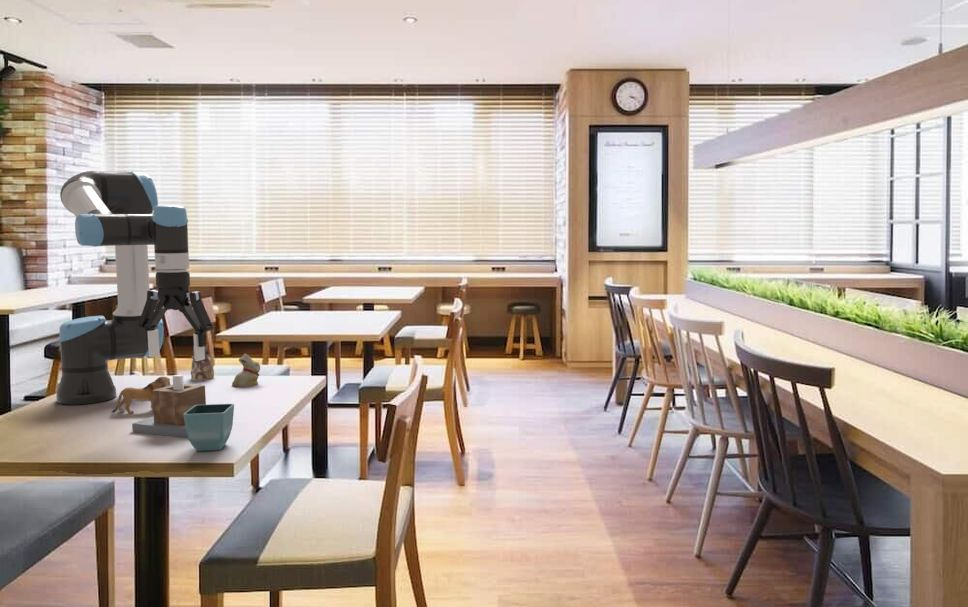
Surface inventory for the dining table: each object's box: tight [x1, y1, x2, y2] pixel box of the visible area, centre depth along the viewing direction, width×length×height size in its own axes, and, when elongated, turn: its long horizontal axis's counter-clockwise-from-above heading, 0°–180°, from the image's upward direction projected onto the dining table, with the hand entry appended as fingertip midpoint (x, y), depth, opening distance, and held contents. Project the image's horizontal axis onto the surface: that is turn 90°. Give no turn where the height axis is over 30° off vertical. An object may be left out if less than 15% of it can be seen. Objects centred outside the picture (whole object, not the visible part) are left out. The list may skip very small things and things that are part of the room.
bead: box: [152, 383, 207, 426], centre depth 179 cm, size 8×8×8 cm
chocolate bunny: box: [231, 353, 261, 388], centre depth 228 cm, size 6×8×10 cm
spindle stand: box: [131, 374, 188, 438], centre depth 179 cm, size 18×12×13 cm, turn 71°
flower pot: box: [183, 403, 235, 452], centre depth 163 cm, size 9×9×9 cm
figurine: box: [190, 340, 215, 381], centre depth 239 cm, size 7×7×12 cm
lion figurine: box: [111, 376, 172, 415], centre depth 196 cm, size 15×5×9 cm, turn 115°
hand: (176, 358), depth 178 cm, fingers open, 13 cm apart
